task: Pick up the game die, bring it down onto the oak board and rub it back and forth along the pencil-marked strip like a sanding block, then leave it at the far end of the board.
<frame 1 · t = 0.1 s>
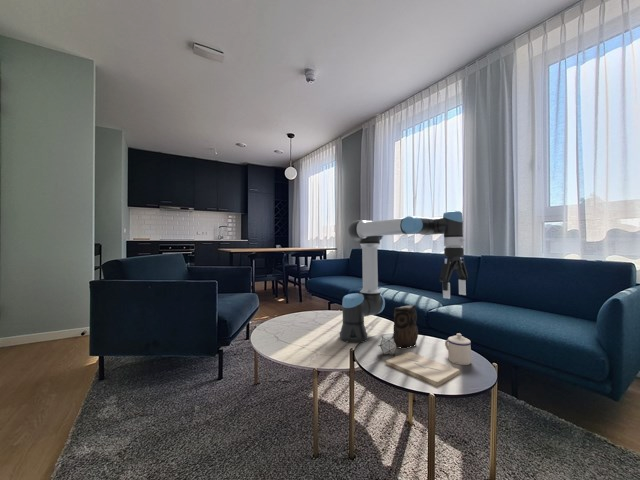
hand: (454, 296, 115), 28 cm above the table, fingers open, 13 cm apart
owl: (403, 344, 137), on the table
teacup with lid: (456, 360, 117), on the table
game die: (388, 355, 123), on the table
board: (421, 368, 109), on the table
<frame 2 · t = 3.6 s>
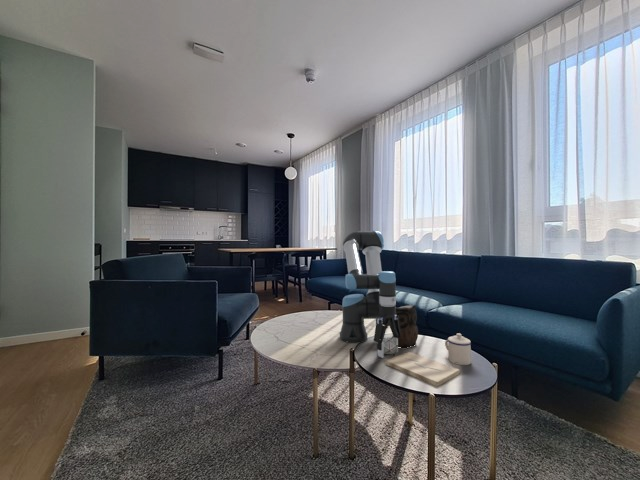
hand: (388, 354, 123), 0 cm above the table, fingers closed on game die, 9 cm apart
game die: (388, 354, 123), on the table, touching gripper
everything else where it was.
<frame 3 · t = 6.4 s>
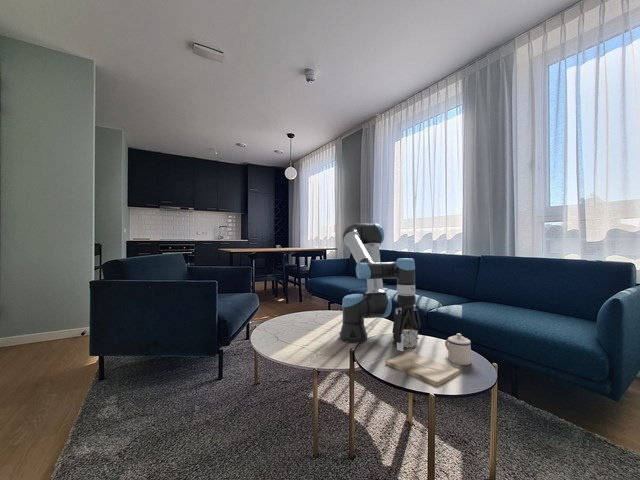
hand: (407, 347, 114), 7 cm above the table, fingers closed on game die, 9 cm apart
game die: (407, 348, 114), point 6 cm above the table, touching gripper
everything else where it was.
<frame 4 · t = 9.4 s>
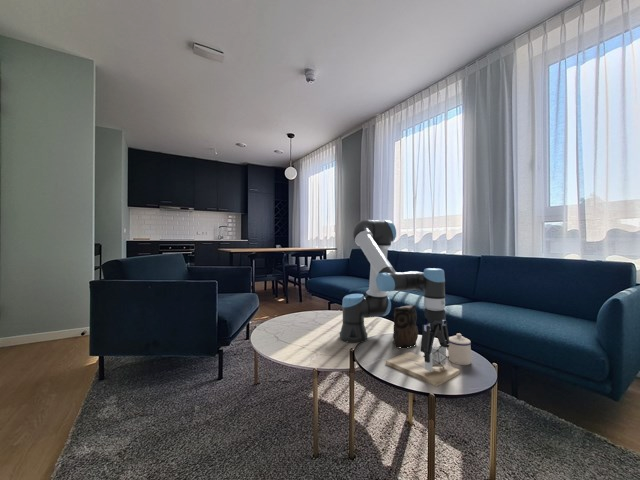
hand: (435, 366, 104), 3 cm above the table, fingers closed on game die, 9 cm apart
game die: (436, 367, 104), point 3 cm above the table, touching gripper
everything else where it was.
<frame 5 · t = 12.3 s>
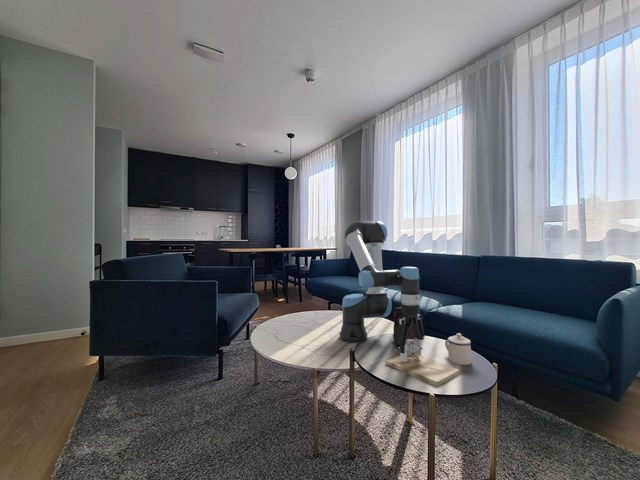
hand: (411, 357, 112), 3 cm above the table, fingers closed on game die, 9 cm apart
game die: (411, 358, 113), point 3 cm above the table, touching gripper
everything else where it was.
when the fingers open (2 cm above the table, at t = 15.1 s): game die stays where it is, resting on board.
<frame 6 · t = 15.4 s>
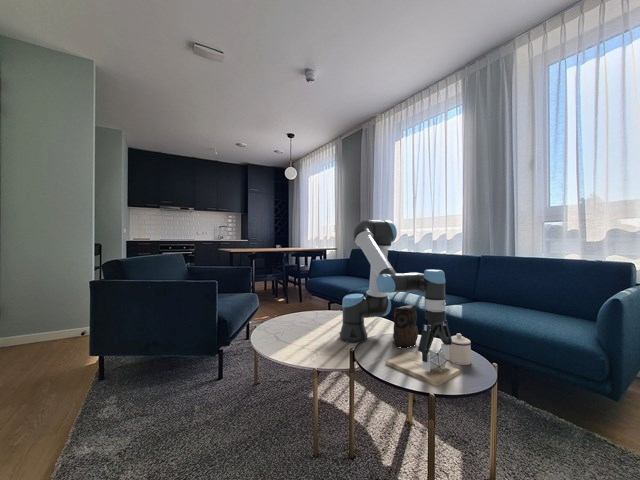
hand: (436, 365, 104), 4 cm above the table, fingers open, 13 cm apart
game die: (435, 371, 104), point 1 cm above the table, touching board
everything else where it was.
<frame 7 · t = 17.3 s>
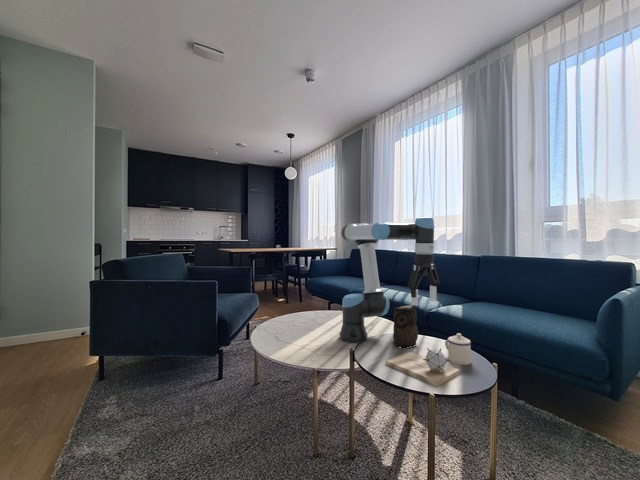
hand: (424, 303, 115), 25 cm above the table, fingers open, 13 cm apart
nothing on the table moved.
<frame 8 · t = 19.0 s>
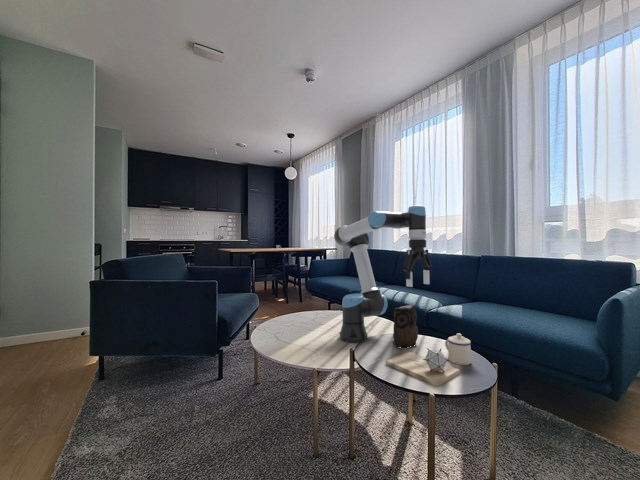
hand: (418, 285, 124), 32 cm above the table, fingers open, 13 cm apart
nothing on the table moved.
at the end: game die inside the target area (0.9 cm from its centre), point 1.3 cm above the table; game die touching board; the gripper is holding nothing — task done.
